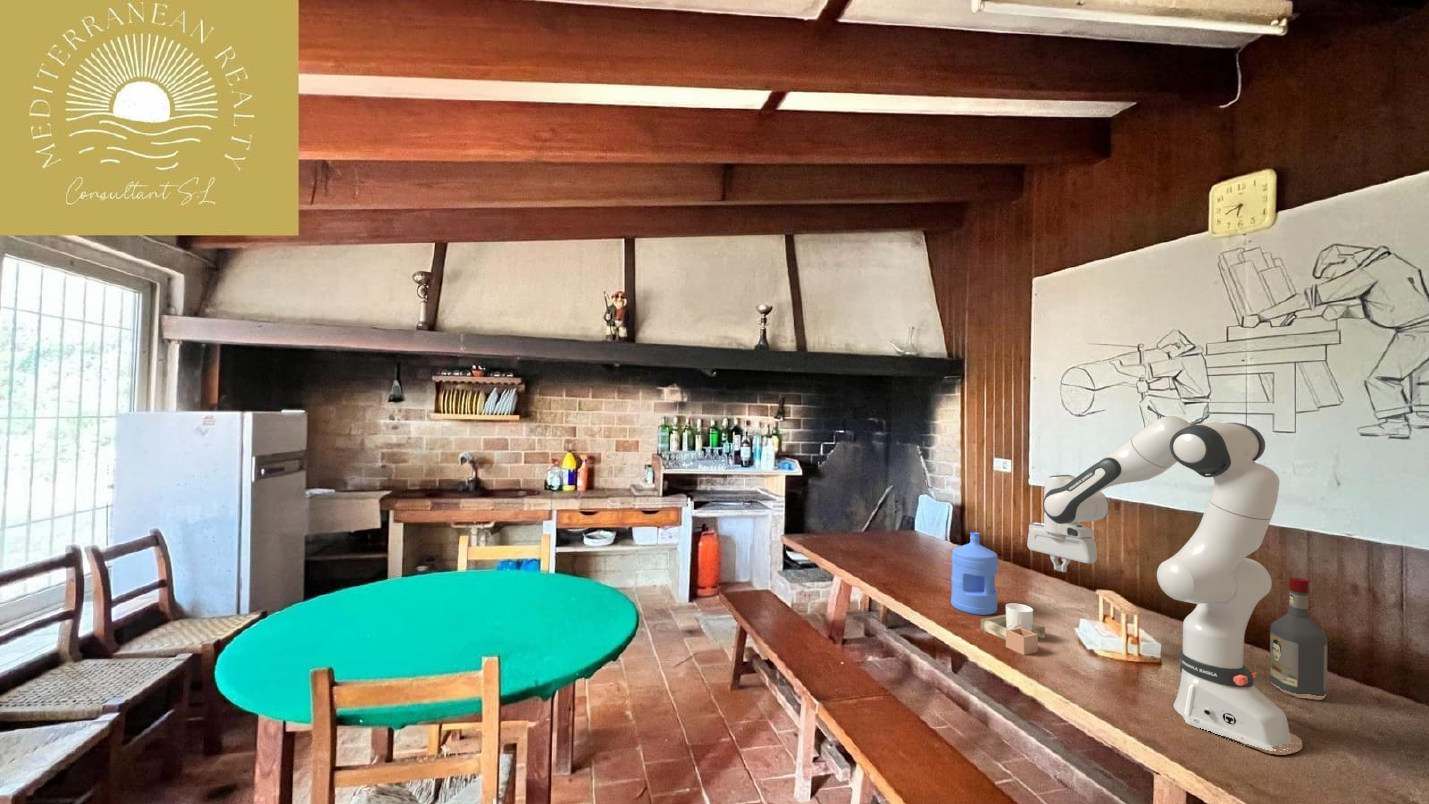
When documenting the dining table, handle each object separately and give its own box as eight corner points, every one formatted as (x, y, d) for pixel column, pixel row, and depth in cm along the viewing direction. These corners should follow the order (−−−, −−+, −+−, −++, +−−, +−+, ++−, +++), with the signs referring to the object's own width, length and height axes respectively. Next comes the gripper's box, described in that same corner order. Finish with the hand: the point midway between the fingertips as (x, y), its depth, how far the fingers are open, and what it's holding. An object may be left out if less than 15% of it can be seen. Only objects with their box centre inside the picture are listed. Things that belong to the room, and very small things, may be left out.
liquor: (1306, 686, 152) (1307, 576, 153) (1332, 703, 144) (1333, 586, 144) (1264, 681, 155) (1266, 572, 155) (1288, 697, 146) (1289, 582, 146)
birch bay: (1044, 639, 181) (1045, 627, 181) (1014, 646, 175) (1014, 633, 175) (1009, 625, 192) (1010, 613, 192) (980, 631, 187) (980, 619, 187)
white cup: (1024, 633, 185) (1025, 603, 185) (1037, 643, 177) (1038, 612, 177) (1000, 633, 186) (1001, 602, 186) (1012, 643, 178) (1013, 611, 178)
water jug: (941, 602, 214) (942, 529, 214) (975, 599, 218) (976, 527, 218) (972, 617, 199) (973, 538, 199) (1007, 613, 203) (1008, 536, 204)
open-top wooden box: (1037, 654, 170) (1037, 634, 170) (1023, 657, 167) (1023, 637, 167) (1019, 646, 175) (1019, 627, 175) (1005, 649, 173) (1006, 629, 173)
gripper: (1022, 521, 183) (1022, 563, 183) (1086, 533, 165) (1086, 580, 164) (1035, 520, 186) (1035, 561, 185) (1100, 531, 167) (1100, 578, 167)
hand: (1060, 571), depth 175 cm, fingers closed
